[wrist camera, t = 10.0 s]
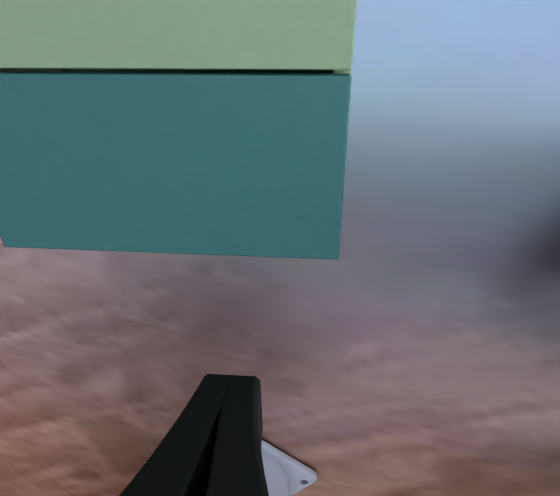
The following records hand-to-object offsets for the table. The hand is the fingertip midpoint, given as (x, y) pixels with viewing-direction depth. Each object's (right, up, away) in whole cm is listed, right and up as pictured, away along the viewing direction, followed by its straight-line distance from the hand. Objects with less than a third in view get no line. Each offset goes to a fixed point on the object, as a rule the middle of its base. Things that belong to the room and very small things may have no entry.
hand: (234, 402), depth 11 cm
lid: (-2, +6, +2) cm, 7 cm away
